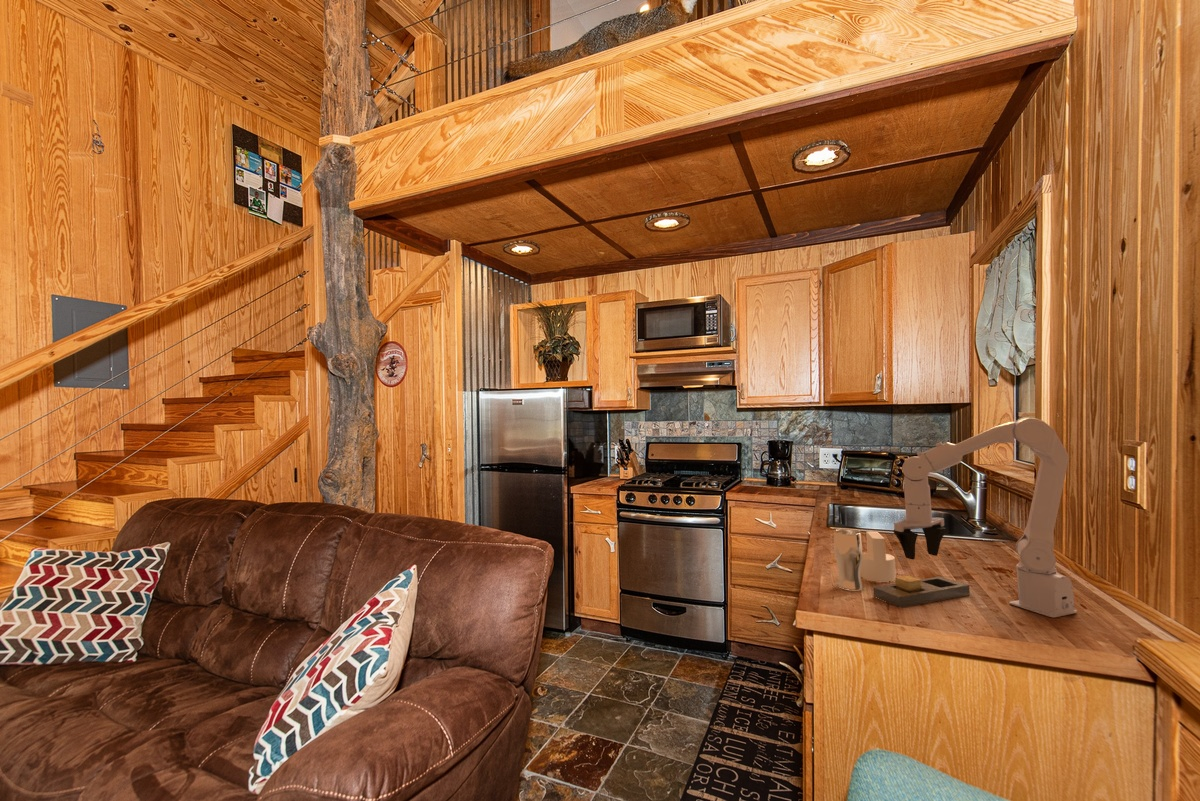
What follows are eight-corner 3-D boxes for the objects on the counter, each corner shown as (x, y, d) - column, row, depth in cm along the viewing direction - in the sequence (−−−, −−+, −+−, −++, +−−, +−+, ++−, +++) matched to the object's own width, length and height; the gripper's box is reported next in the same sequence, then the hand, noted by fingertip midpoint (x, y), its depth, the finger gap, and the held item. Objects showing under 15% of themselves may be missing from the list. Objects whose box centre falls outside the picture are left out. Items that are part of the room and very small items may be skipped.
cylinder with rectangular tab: (899, 583, 142) (897, 538, 143) (863, 581, 145) (861, 538, 145) (891, 573, 151) (888, 531, 151) (857, 572, 153) (854, 531, 154)
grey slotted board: (940, 585, 139) (940, 576, 139) (969, 595, 131) (969, 585, 131) (873, 597, 132) (873, 587, 133) (900, 607, 125) (899, 597, 125)
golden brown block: (922, 600, 129) (921, 579, 129) (909, 602, 128) (908, 581, 128) (908, 595, 133) (907, 575, 133) (896, 597, 132) (895, 577, 132)
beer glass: (830, 586, 142) (827, 530, 143) (850, 582, 145) (846, 527, 145) (850, 593, 136) (847, 535, 136) (871, 589, 138) (867, 532, 139)
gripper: (925, 498, 141) (929, 549, 140) (883, 503, 136) (886, 556, 136) (950, 502, 134) (954, 555, 133) (906, 507, 129) (909, 563, 129)
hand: (921, 556), depth 134 cm, fingers open, 7 cm apart
